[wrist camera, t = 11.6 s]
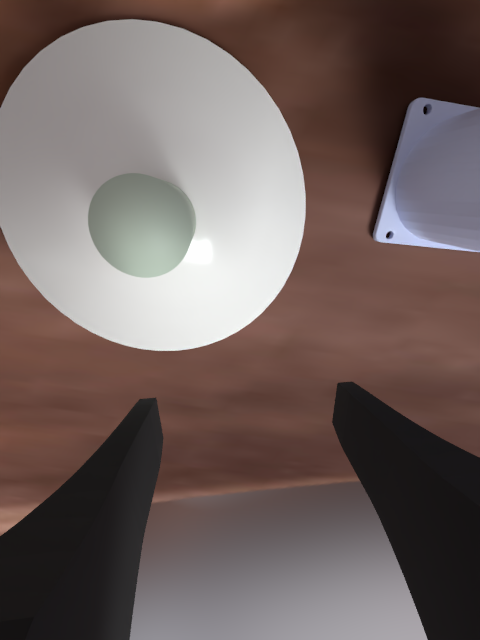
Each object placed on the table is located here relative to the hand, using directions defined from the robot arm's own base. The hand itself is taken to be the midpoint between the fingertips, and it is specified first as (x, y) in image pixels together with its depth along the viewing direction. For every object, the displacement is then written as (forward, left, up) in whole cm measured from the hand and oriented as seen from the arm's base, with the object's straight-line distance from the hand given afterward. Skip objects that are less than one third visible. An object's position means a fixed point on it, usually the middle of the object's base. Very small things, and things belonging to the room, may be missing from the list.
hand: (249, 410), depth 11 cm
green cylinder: (+5, -6, -10) cm, 12 cm away
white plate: (+5, -6, -10) cm, 13 cm away
